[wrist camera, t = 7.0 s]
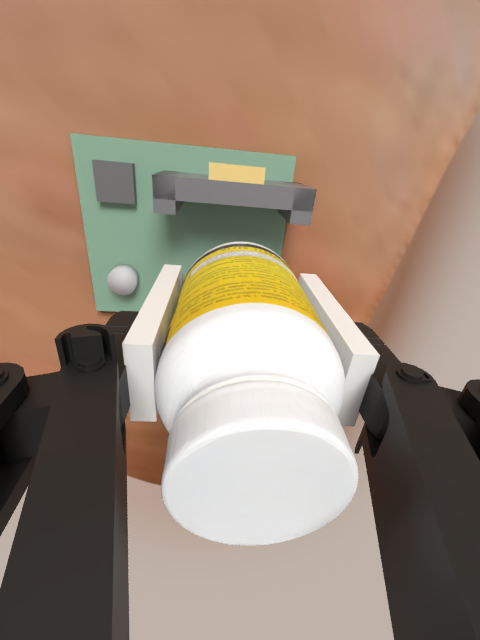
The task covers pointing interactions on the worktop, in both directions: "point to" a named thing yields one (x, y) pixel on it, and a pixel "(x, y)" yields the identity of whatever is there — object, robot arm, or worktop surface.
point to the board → (159, 229)
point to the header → (233, 191)
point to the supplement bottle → (251, 404)
